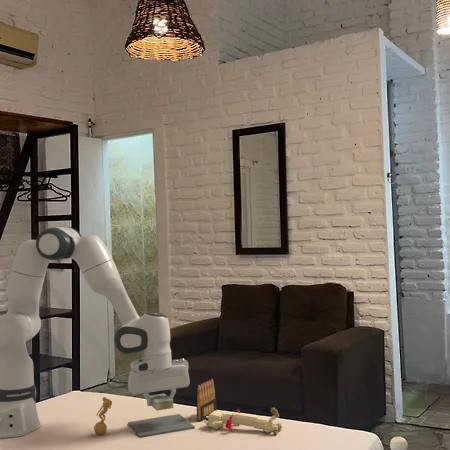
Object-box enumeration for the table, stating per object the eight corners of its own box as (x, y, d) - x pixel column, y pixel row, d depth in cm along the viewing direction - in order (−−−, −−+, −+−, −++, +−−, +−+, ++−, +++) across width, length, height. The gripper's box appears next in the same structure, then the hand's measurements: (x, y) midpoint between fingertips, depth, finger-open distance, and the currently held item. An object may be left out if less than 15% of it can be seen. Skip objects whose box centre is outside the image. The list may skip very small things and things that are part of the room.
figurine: (101, 430, 199) (100, 393, 200) (118, 431, 197) (116, 393, 198) (88, 438, 191) (86, 400, 192) (105, 439, 190) (103, 400, 190)
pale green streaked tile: (173, 408, 197) (164, 400, 206) (172, 400, 197) (164, 393, 206) (156, 410, 195) (148, 403, 204) (156, 402, 195) (148, 395, 204)
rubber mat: (139, 437, 190) (139, 435, 190) (128, 423, 205) (128, 422, 205) (194, 428, 197) (194, 426, 197) (179, 415, 212) (179, 413, 212)
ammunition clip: (201, 421, 204) (200, 385, 204) (196, 421, 205) (195, 385, 205) (217, 412, 213) (215, 378, 213) (212, 412, 214) (210, 377, 214)
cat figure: (283, 432, 194) (211, 419, 203) (284, 404, 193) (212, 393, 203) (273, 442, 184) (198, 428, 194) (274, 413, 184) (199, 401, 194)
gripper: (185, 356, 208) (187, 397, 208) (125, 363, 200) (127, 406, 200) (191, 359, 202) (193, 401, 202) (130, 367, 194) (132, 411, 194)
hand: (160, 404), depth 201 cm, fingers closed on pale green streaked tile, 5 cm apart
